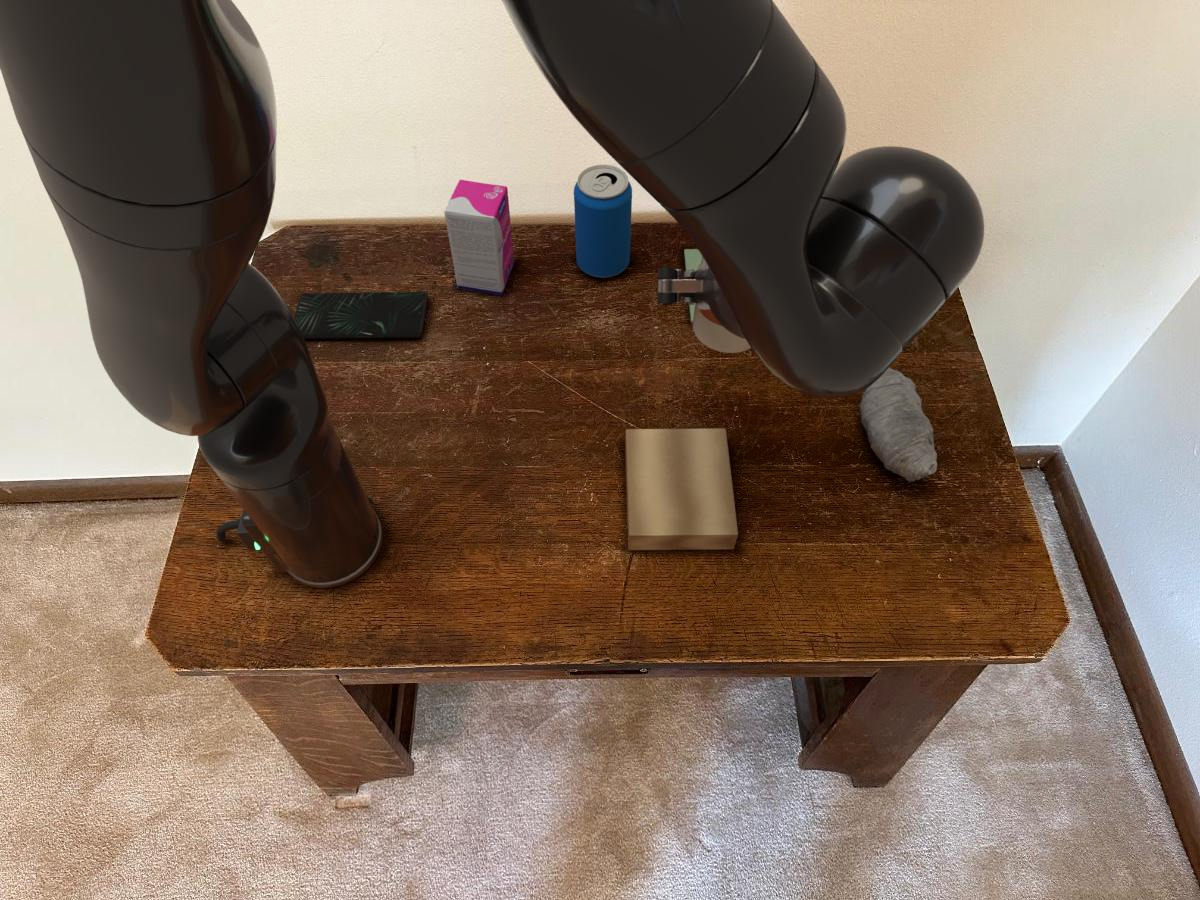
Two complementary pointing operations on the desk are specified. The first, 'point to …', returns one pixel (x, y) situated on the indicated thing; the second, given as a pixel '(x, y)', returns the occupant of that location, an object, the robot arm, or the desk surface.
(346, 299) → the smartphone
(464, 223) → the supplement box
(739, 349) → the jar
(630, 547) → the stand
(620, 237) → the beverage can
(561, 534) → the desk surface
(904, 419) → the grey oval lump
